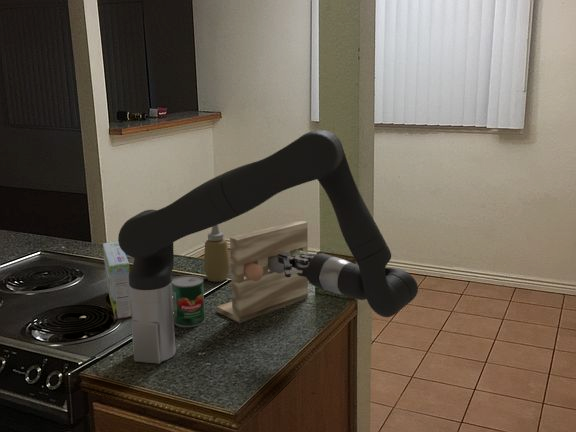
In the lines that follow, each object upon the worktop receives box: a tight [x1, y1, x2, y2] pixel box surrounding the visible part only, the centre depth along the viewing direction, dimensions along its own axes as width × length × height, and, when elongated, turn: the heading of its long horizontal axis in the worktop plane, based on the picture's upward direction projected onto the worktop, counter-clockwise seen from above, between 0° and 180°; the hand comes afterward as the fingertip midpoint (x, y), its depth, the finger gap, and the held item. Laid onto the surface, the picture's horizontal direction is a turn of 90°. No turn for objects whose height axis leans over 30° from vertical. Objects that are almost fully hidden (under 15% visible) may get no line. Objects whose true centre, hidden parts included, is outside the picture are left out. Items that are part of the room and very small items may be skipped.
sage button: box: [291, 249, 307, 256], centre depth 170 cm, size 4×4×4 cm
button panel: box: [215, 219, 309, 324], centre depth 169 cm, size 10×24×22 cm, turn 133°
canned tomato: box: [171, 274, 206, 328], centre depth 161 cm, size 8×8×11 cm
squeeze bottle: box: [203, 224, 231, 283], centre depth 190 cm, size 8×8×18 cm
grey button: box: [268, 256, 284, 274], centre depth 165 cm, size 4×4×4 cm
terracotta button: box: [244, 262, 263, 281], centre depth 160 cm, size 4×4×4 cm
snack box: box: [102, 241, 132, 320], centre depth 172 cm, size 21×6×15 cm, turn 21°
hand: (280, 257), depth 150 cm, fingers closed
